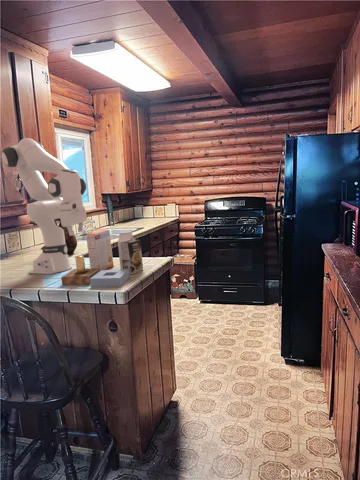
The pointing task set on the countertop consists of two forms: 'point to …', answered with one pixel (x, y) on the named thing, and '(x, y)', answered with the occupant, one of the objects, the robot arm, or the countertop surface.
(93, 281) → the socket block
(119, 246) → the milk carton
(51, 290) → the countertop surface
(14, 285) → the countertop surface
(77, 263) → the brass peg
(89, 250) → the cracker box
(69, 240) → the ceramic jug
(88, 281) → the block
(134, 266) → the coffee box
